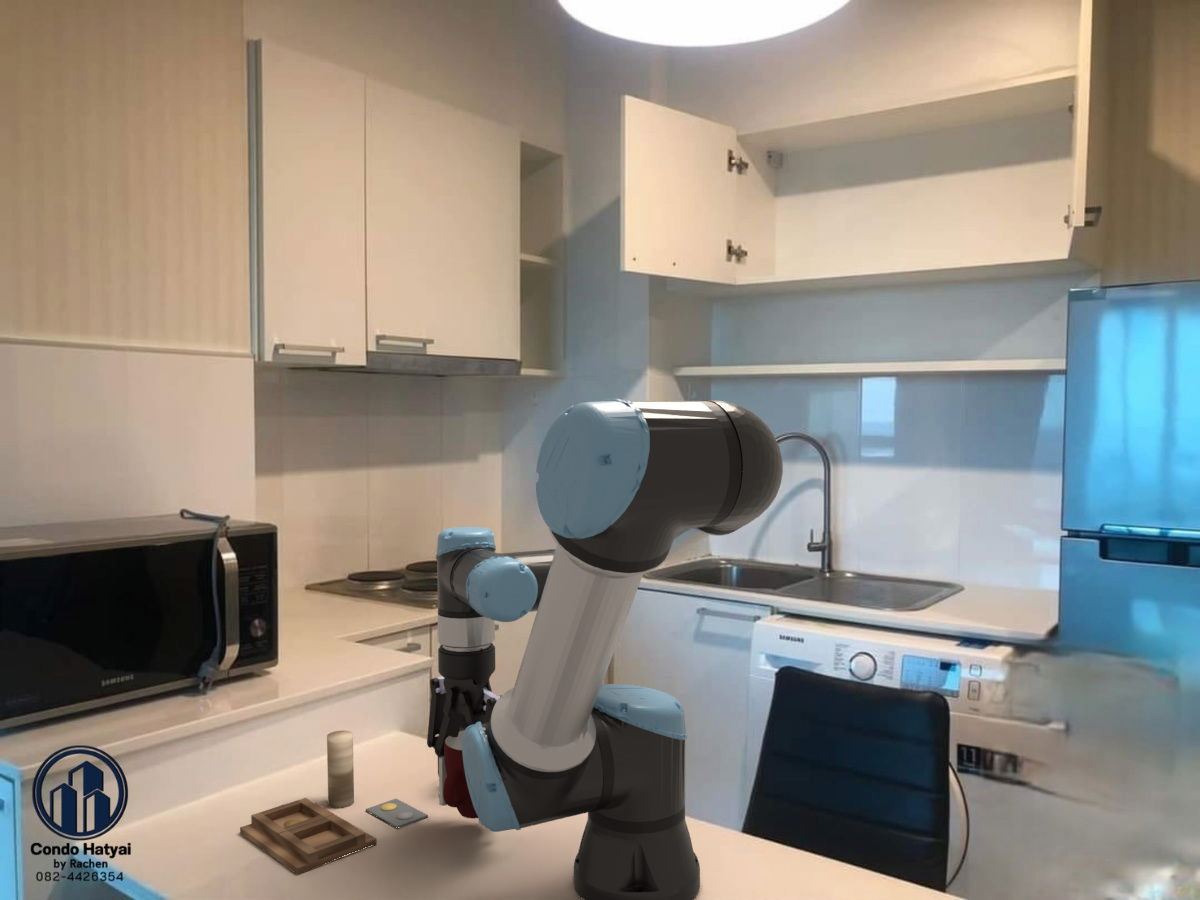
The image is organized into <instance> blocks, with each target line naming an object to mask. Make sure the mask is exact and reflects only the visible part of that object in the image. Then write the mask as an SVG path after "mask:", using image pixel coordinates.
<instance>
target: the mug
mask: <svg viewBox="0 0 1200 900" xmlns="http://www.w3.org/2000/svg"><path fill="white" fill-rule="evenodd" d="M463 734H464V731H460V732H459V734H458V737H451V736H448V737H447V738H446V739H445V741H444V762H445V768H446V774H447V777H446V780H445V783H444V787H443V797H444V801H445V803H446V806H448V807H451V808H456V810H457V811H458V813H459V814H460V816H462V817H463V818H466V819H471V820H472V819H474V820H475V819H479V818H478V816H477V814H476V811H475V809H474V806H473V803H472V800H471V797H470V793H469V790H468V785H467V781H466V776H465V770H464V763H463V753H462V740H463Z"/></svg>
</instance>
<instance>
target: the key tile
mask: <svg viewBox="0 0 1200 900" xmlns="http://www.w3.org/2000/svg"><path fill="white" fill-rule="evenodd" d="M367 811H368V812H370V813H372V814H373V815H372V814H371V815H372V816H374V815H375V816H377V817H378V818H377V817H376V818H377V819H379V818H380V819H379V820H381V819H382V820H381V821H383V820H384V821H385V823H386V822H387V823H386V824H388V823H389V824H388V825H390V824H391V825H393V826H395V827H397V828H398V827H401V828H403V827H406V826H409V825H411V824H414V823H416V822H419V821H422V820H425V819H427V818H429V815H428V814H427V813H426V812H423V811H421V810H420V809H417V808H415V807H413V806H412V805H410V804H408V803H405V802H404V801H402V800H400V799H398V798H393V799H390V800H387V801H385V802H382V803H380V804H376V805H373V806H370V807H368V808H365V812H367ZM368 812H367V813H368ZM370 813H369V814H370ZM375 816H374V817H375ZM426 817H427V818H426ZM424 818H425V819H424ZM421 819H422V820H421ZM384 821H383V822H384ZM408 824H409V825H408ZM391 825H390V826H391ZM405 825H406V826H405ZM393 826H392V827H393ZM402 826H403V827H402ZM395 827H394V828H395ZM397 828H396V829H397ZM398 829H399V828H398Z"/></svg>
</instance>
